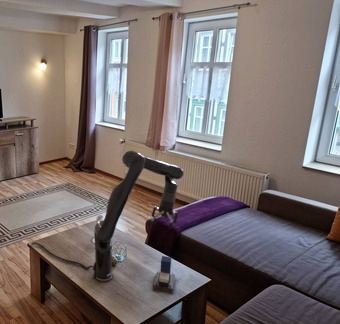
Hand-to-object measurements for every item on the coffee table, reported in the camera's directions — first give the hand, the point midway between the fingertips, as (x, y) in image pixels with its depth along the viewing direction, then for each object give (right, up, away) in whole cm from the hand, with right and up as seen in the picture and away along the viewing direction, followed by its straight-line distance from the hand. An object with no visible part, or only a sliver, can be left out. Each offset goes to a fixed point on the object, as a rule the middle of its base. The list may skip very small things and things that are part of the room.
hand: (162, 226), depth 193 cm
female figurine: (-34, -17, +32) cm, 50 cm away
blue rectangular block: (-1, -27, -13) cm, 30 cm away
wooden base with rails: (-1, -29, -12) cm, 32 cm away
